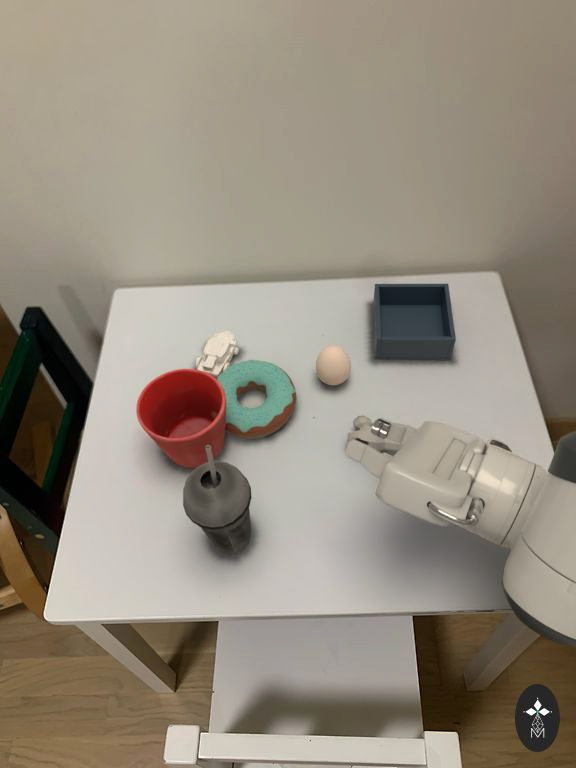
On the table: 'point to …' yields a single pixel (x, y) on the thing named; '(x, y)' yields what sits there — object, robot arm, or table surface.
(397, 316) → the freezer basket
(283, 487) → the table surface
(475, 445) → the robot arm
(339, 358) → the egg
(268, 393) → the donut
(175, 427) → the flower pot
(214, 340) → the toy car
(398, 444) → the bone
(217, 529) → the beverage cup
